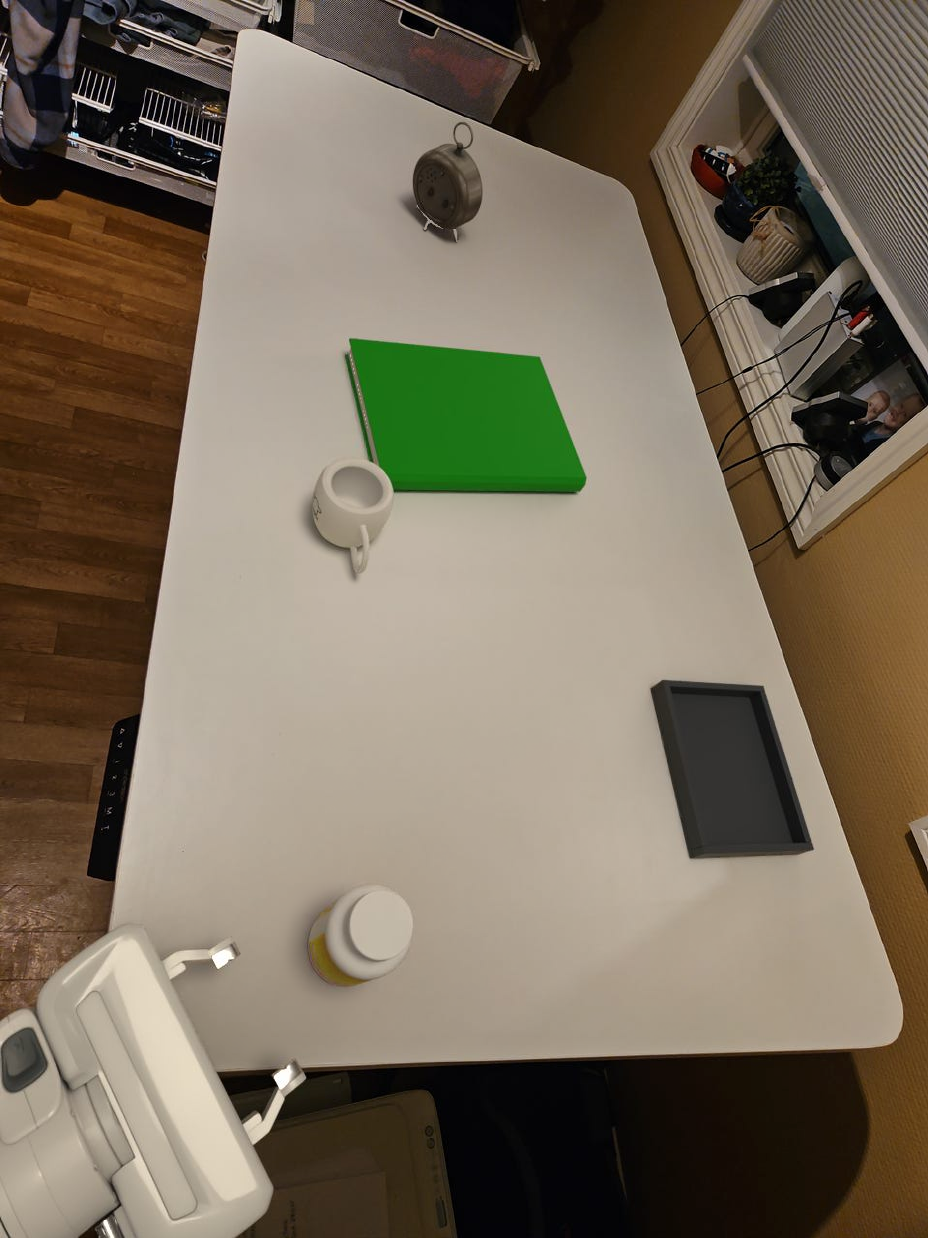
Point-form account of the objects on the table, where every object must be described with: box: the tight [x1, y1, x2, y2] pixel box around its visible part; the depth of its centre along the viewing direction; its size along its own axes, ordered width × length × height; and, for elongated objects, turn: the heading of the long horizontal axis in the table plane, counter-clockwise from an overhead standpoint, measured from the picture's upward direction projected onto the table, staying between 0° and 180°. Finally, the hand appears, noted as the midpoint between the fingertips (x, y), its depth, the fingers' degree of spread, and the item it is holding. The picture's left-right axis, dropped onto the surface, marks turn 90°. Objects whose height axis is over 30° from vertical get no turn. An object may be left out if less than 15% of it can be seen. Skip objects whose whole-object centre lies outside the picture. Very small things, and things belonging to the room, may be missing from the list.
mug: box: [311, 456, 395, 574], centre depth 78 cm, size 12×8×8 cm
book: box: [344, 337, 588, 493], centre depth 95 cm, size 22×28×3 cm
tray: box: [650, 679, 815, 860], centre depth 82 cm, size 20×15×3 cm
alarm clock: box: [412, 121, 484, 231], centre depth 109 cm, size 11×5×16 cm, turn 51°
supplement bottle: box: [307, 883, 414, 987], centre depth 56 cm, size 7×7×13 cm
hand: (267, 1005), depth 51 cm, fingers open, 8 cm apart
